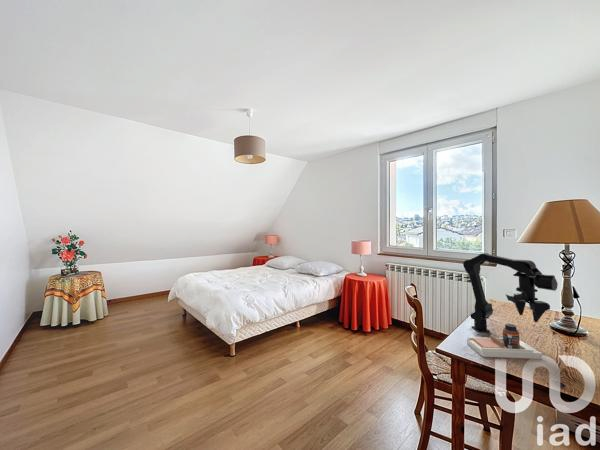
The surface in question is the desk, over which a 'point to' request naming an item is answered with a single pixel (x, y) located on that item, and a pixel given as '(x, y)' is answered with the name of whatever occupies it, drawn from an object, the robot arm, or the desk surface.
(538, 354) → the board
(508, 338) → the supplement bottle
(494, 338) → the lid
